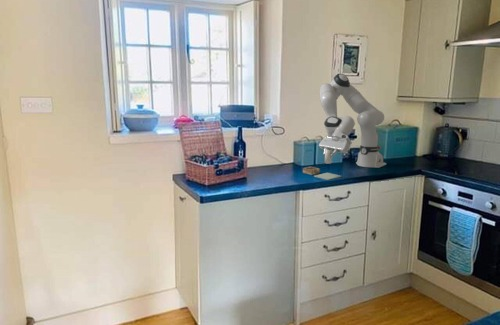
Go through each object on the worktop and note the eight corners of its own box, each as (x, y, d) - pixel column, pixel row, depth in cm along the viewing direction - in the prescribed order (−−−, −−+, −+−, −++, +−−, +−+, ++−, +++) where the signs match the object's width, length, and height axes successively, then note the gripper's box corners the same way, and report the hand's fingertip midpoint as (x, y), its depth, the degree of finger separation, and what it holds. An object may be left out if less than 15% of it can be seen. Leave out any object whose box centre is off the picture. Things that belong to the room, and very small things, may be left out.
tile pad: (327, 173, 238) (327, 172, 238) (341, 176, 230) (341, 175, 230) (313, 176, 230) (313, 175, 230) (328, 180, 222) (328, 179, 222)
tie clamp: (308, 170, 246) (308, 166, 245) (319, 173, 239) (319, 168, 238) (300, 172, 241) (301, 167, 240) (311, 174, 234) (311, 170, 234)
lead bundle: (327, 162, 231) (328, 147, 229) (332, 163, 228) (333, 148, 226) (323, 162, 229) (323, 148, 227) (328, 164, 226) (329, 149, 224)
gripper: (323, 133, 237) (312, 149, 233) (350, 136, 222) (338, 154, 218) (327, 139, 241) (316, 155, 237) (354, 143, 225) (343, 161, 221)
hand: (327, 155), depth 227 cm, fingers closed on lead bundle, 4 cm apart
